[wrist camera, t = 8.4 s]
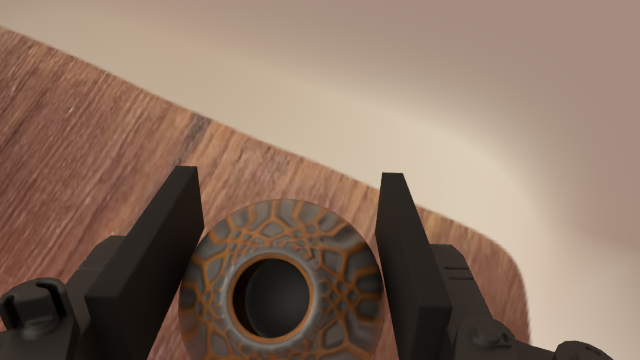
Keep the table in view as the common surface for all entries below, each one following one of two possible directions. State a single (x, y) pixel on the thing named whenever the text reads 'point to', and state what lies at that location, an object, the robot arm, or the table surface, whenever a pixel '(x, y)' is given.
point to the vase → (282, 287)
